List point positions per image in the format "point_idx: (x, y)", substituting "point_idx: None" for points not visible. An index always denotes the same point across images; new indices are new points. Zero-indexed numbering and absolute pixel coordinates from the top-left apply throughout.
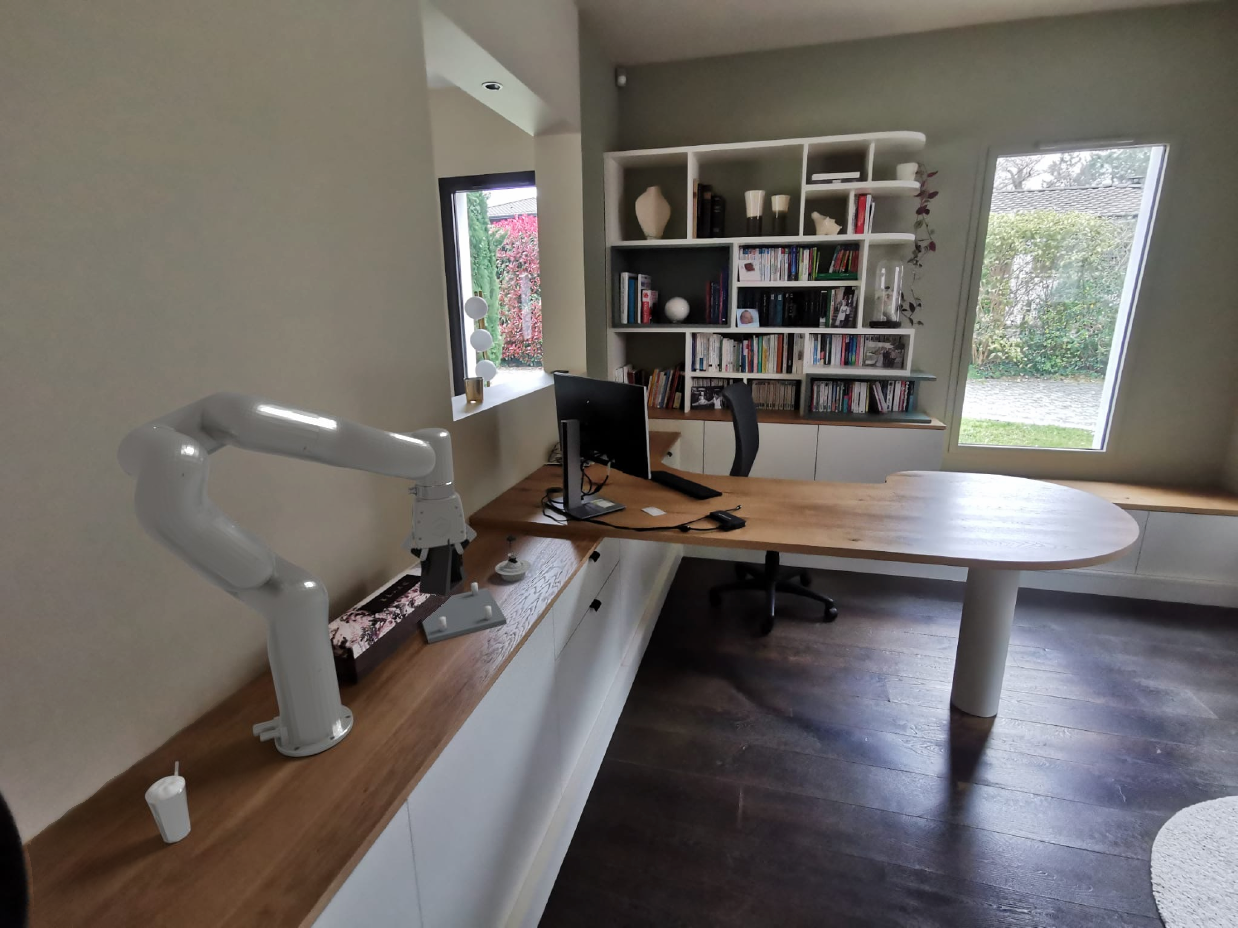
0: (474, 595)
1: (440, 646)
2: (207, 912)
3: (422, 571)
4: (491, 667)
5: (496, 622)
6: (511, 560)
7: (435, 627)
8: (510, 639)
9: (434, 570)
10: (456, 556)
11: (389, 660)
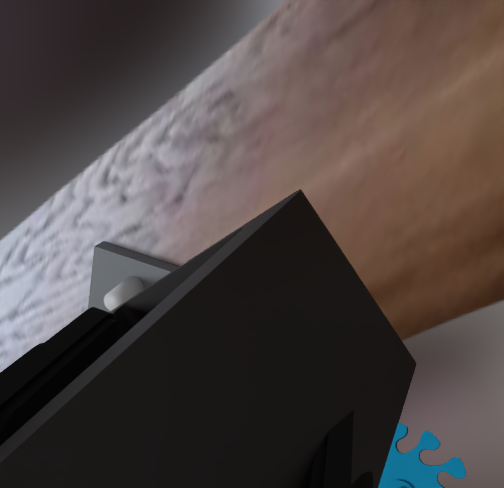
0: None
1: None
2: None
3: (370, 483)
4: (236, 58)
5: (124, 254)
6: None
7: None
8: (126, 159)
9: (287, 403)
10: (3, 412)
11: (451, 318)
